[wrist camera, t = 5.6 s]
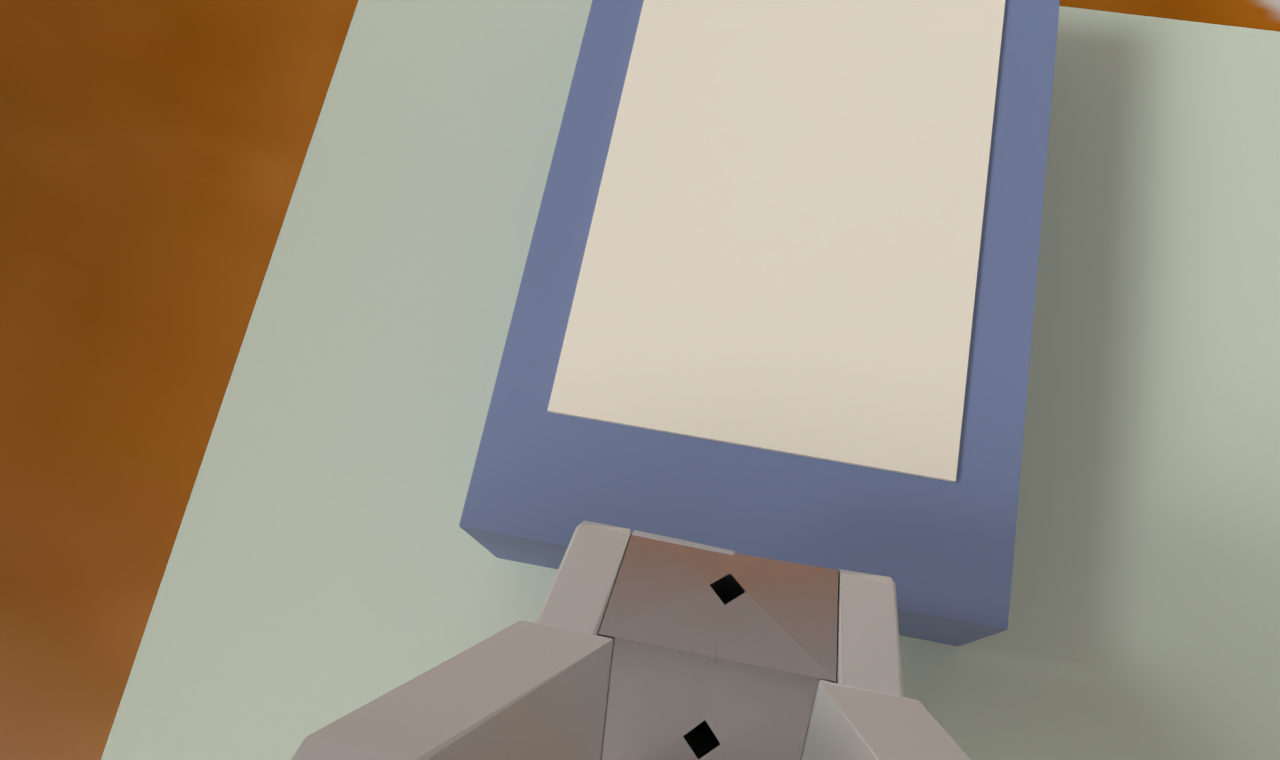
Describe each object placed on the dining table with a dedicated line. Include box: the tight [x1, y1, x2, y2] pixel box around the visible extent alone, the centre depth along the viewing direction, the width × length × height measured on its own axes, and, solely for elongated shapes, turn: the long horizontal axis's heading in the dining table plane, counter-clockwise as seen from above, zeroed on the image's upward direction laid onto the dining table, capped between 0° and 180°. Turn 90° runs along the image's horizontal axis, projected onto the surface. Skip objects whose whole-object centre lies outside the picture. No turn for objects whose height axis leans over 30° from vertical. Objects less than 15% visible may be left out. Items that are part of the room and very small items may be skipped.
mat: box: [101, 0, 1280, 760], centre depth 15 cm, size 16×15×1 cm
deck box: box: [459, 0, 1060, 646], centre depth 15 cm, size 6×2×10 cm
